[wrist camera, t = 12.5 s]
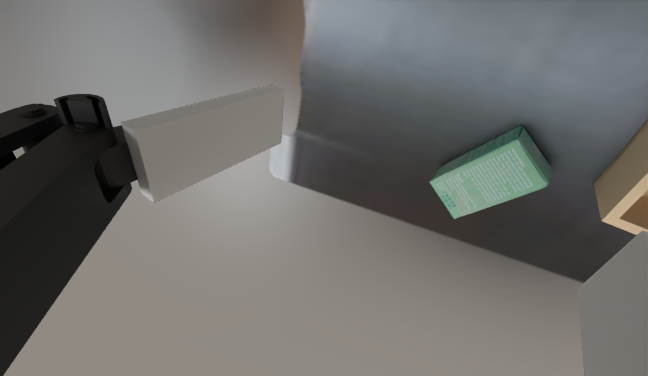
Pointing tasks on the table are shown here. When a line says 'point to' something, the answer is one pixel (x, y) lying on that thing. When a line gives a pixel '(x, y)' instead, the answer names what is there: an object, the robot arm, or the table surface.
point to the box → (492, 174)
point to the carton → (626, 186)
